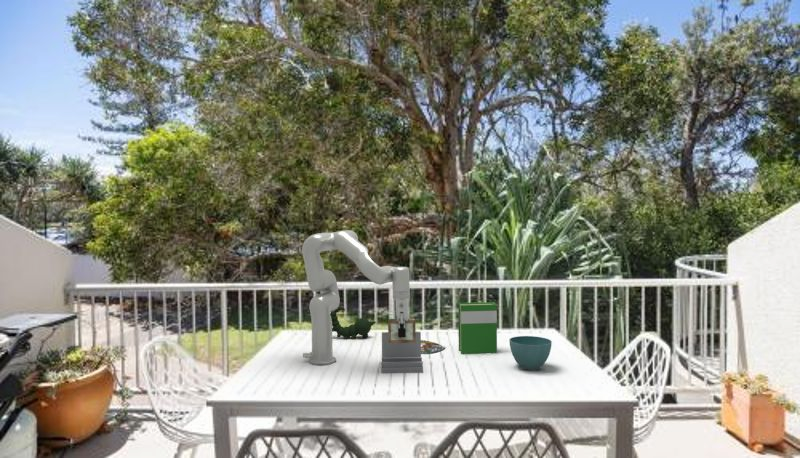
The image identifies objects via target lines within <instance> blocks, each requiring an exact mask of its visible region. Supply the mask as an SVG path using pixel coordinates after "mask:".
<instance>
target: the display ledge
mask: <svg viewBox="0 0 800 458" xmlns="http://www.w3.org/2000/svg"><path fill="white" fill-rule="evenodd" d="M421 333H422V332H421V331H416V343H388V331H382V332H381V362H380V363H381V365H380V366H381V367H380V369H381V374H402V373H403V374H405V373H406V374H407V373H408V374H411V373H413V374H415V373H416V374H417V373H418V374H419V373H424V365H423V363H424V362H423V361H422V360H423V358H422V354H421V346H422V345H421V340H422V337H421V336H422V334H421Z"/></svg>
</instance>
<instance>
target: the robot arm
mask: <svg viewBox="0 0 800 458" xmlns="http://www.w3.org/2000/svg"><path fill="white" fill-rule="evenodd" d="M301 248H302V249H301V253H302V258H303V261H304V267H305V273H306V278H307V283H308V284H307V285H308V287H309V289H310V290H311V291H312V292H317V293H318V292H319V294H316V295H315V296H313V297H312V298H311V300H310V302H309V305H308V307H309V313H310V320H311V352H310V351H309V352H302V357H303V358H305V359H308V358H309V359H308V363H309V364H311V365H317V366H319V365H320V366H321V365H322V366H324V365H331V364H333V363H336V361H337V358H336V357H335V356H333V332H332V328H333V326H332V320H331V316H330V313H331V312H332V311H335V310H336V309H337V308H338V307H340V302H341V301H340V299H341V298H340V294H339V288H338V283H337V282H338V281H337V278H336V275H335V274H334V273H333V272H332V271H331V270H329V269H325V267H324V266H325V265H324V261H323V258H322V256H321V254H320V253H321V252H327V251H334V250H335V251H336V250H339V251H340V252H341V253H343V254H344V255H345V256H346V257H348V258H349V259H350V260H351V261H353V263H355V265H356V267H357V268H358V270H359V272H360V273H362V274H363V276H365V277H366V278H367V279H368V280H369V281H371V282H372V283H374V284H375V285H378V286H379V285H380V286H381V285H384V284H388V283H392V299H393V300H395V315H396V319H397V321H399V319H400V321H399V328H398V337H406V328H405V321H408V319H409V302H408V301H409V300H408V299H411V293H410V288H411V287H410V269H409V267H407V266H392V265H382V266H379V265H378V264H377V263H375V261H373V260H372V259H371V257H370V256H369V249H368V248H367V246H365V245H364V244H363V243H362V242H360V241H359V237H358V235H357V233H356V232H355V231H353V230H351V229H350V230H349V229H348V230H347V229H346V230H338V231H335V232H324V233H323V232H321V233H313V234H312V235H310V236H308V237H307V238H306V239H305V240H304V242H303V244H302V247H301ZM403 320H404V321H403Z"/></svg>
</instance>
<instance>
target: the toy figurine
mask: <svg viewBox="0 0 800 458" xmlns="http://www.w3.org/2000/svg"><path fill="white" fill-rule="evenodd" d="M340 311H346V309H345V308H344V307H343V306H338V308H337V309H336V310H334V311H332V312H330V316H331V320H332V333H335V332H336V334H337V335H336V337H337V338H341V337H343V338H344V339H345V340H348V339H349V338H350V337H351V338H352V339H356V338H357V336H358V335H359V336H362V338H363V339H368V337H369V334H368V333H370V332H371V329H372V326H374V325H375V324H376V323H377V321H374V320H373V321H371V320H368V319H367V318H366V317H361V318H357V320H355V321H354V323H352V324H349V325H348V326H342V325H341V324H340V321H339V318H338V315H337V313H339V312H340Z"/></svg>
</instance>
